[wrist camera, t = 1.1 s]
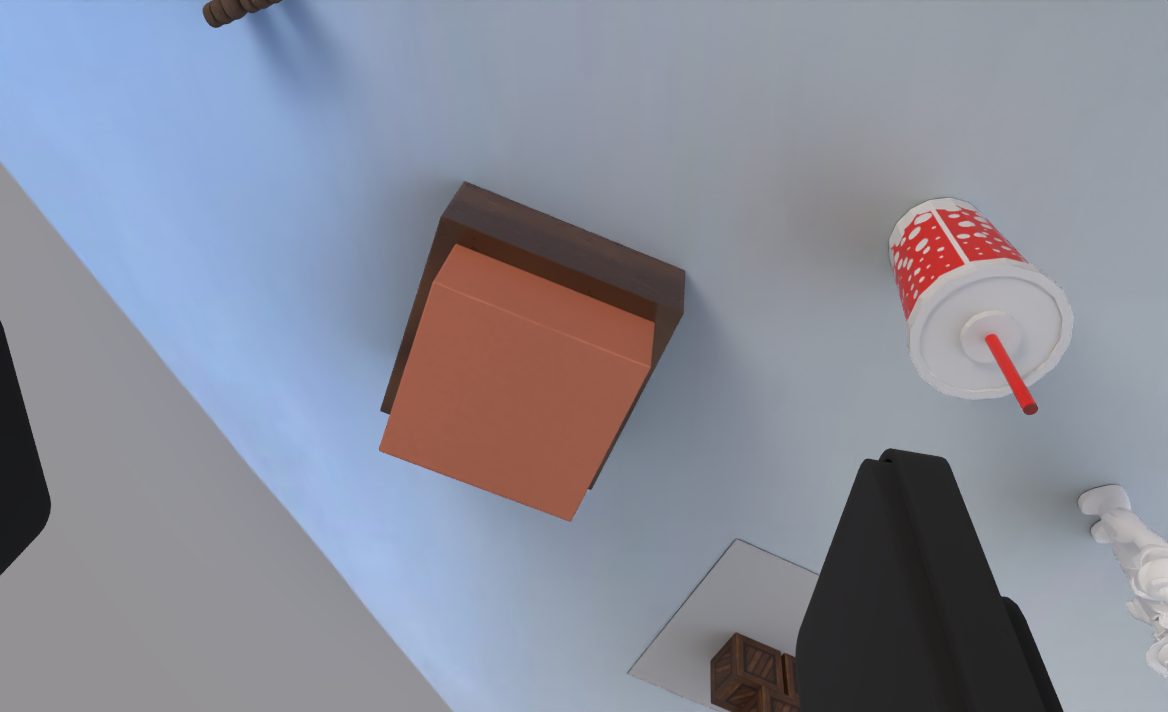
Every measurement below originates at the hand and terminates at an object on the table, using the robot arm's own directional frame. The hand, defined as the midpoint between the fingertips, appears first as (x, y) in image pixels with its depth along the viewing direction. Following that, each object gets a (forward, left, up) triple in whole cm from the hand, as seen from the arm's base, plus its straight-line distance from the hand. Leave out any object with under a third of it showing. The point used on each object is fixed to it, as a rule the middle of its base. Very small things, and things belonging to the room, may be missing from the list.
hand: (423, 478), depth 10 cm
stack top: (+17, +5, -28) cm, 33 cm away
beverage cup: (+2, +19, -33) cm, 38 cm away
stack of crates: (+30, +31, -33) cm, 54 cm away
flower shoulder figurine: (+9, +38, -33) cm, 51 cm away
